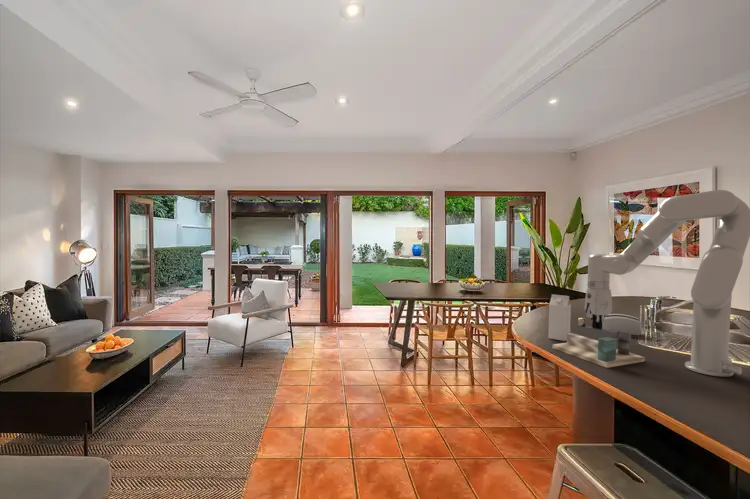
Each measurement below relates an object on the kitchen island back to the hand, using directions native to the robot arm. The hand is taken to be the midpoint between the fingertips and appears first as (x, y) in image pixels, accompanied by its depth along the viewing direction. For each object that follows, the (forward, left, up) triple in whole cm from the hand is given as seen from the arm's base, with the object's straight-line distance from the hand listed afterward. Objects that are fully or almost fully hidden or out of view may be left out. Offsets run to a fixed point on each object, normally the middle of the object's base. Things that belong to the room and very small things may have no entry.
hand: (597, 331), depth 156 cm
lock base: (-5, +7, -7) cm, 11 cm away
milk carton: (+17, +2, -7) cm, 19 cm away
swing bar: (-4, +2, -1) cm, 5 cm away
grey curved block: (+14, -32, -8) cm, 36 cm away
